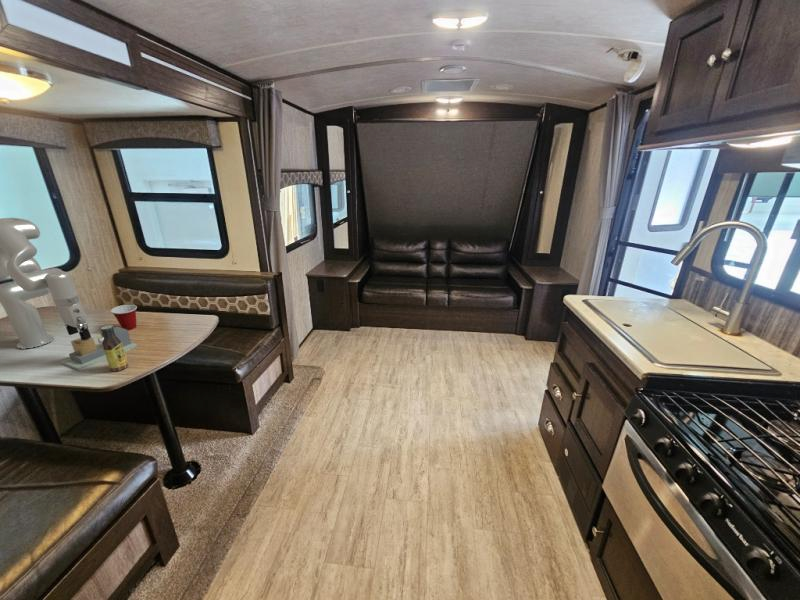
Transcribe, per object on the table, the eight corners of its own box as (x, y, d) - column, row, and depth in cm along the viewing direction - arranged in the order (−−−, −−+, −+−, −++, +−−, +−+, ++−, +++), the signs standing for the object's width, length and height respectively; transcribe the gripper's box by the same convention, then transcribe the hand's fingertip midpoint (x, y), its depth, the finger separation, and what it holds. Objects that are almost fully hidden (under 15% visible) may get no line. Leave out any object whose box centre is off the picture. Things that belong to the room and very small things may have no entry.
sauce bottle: (125, 371, 141) (111, 330, 133) (108, 373, 139) (92, 331, 132) (132, 362, 146) (118, 323, 139) (115, 364, 145) (101, 324, 137)
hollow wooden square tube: (90, 347, 150) (86, 335, 148) (97, 350, 148) (93, 338, 146) (75, 353, 146) (70, 341, 143) (82, 355, 144) (77, 344, 141)
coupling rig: (61, 363, 145) (54, 345, 142) (119, 340, 165) (114, 324, 161) (79, 370, 140) (72, 352, 137) (137, 346, 160) (132, 330, 156)
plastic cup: (125, 334, 171) (119, 313, 166) (112, 330, 174) (105, 310, 170) (147, 325, 180) (141, 306, 176) (134, 322, 184) (128, 302, 179)
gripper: (89, 301, 138) (101, 337, 144) (66, 294, 144) (79, 328, 150) (67, 307, 132) (81, 344, 138) (44, 299, 137) (58, 335, 144)
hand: (80, 336), depth 144 cm, fingers open, 9 cm apart
